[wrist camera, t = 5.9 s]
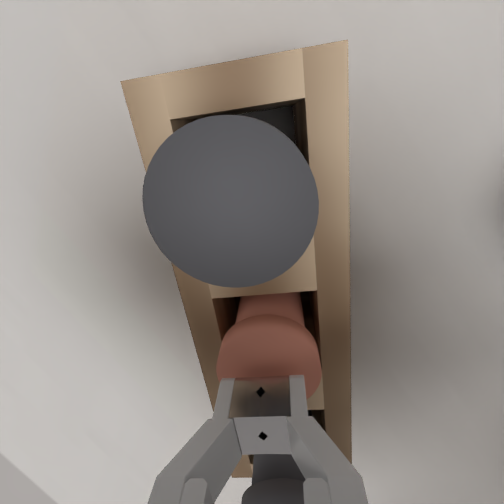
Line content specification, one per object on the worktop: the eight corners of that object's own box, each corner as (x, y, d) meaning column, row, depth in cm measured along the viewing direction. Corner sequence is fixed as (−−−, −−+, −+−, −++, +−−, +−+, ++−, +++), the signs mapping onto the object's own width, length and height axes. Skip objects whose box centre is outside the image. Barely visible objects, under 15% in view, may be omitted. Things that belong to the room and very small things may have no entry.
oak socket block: (315, 74, 16) (348, 39, 8) (329, 369, 24) (351, 477, 17) (188, 96, 17) (120, 81, 9) (244, 373, 25) (232, 477, 18)
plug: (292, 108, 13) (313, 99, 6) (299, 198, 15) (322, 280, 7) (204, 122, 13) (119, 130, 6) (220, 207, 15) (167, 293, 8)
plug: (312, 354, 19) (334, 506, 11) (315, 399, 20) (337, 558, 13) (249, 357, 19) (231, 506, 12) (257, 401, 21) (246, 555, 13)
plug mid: (301, 239, 17) (318, 328, 10) (306, 297, 19) (324, 408, 12) (234, 246, 18) (206, 335, 11) (244, 301, 20) (226, 411, 12)
